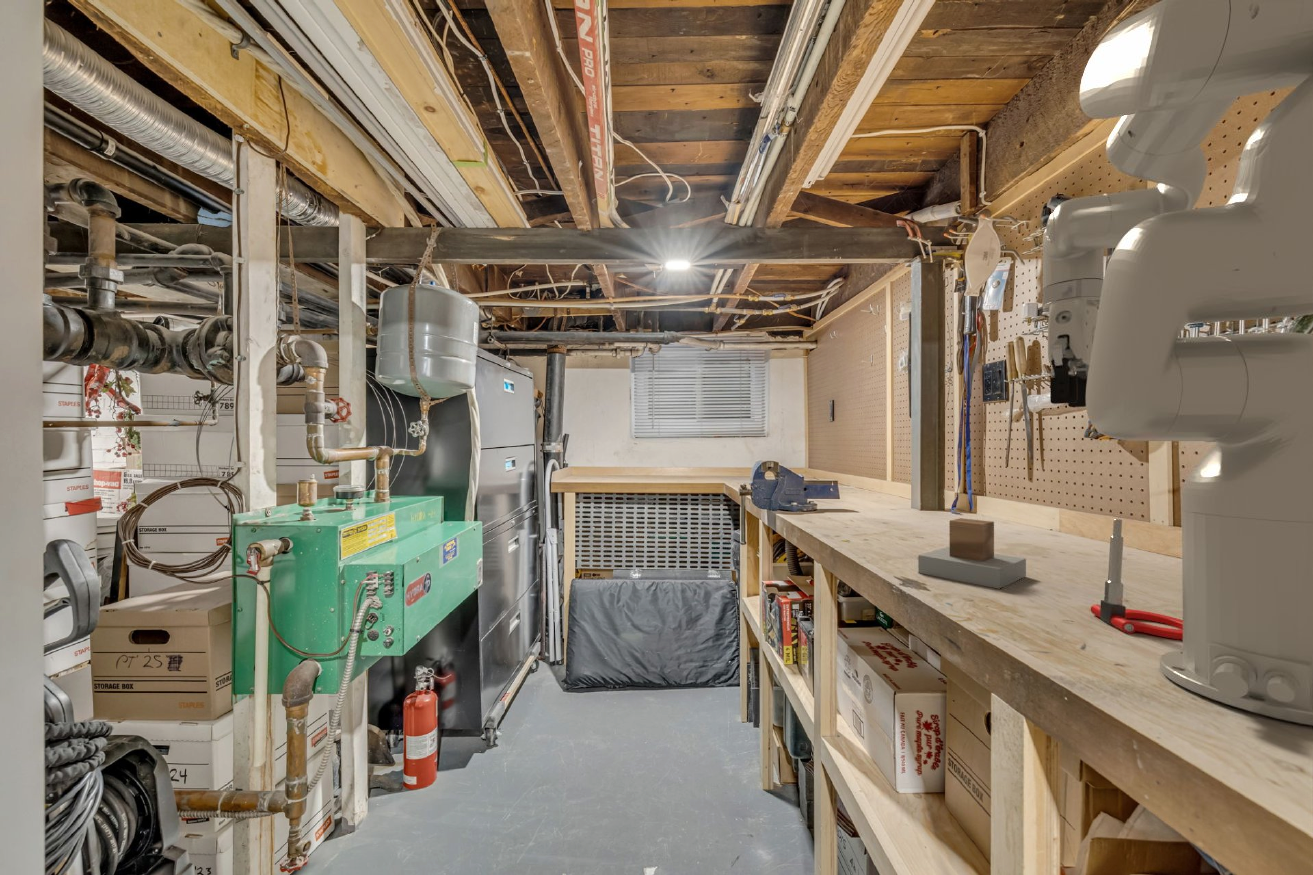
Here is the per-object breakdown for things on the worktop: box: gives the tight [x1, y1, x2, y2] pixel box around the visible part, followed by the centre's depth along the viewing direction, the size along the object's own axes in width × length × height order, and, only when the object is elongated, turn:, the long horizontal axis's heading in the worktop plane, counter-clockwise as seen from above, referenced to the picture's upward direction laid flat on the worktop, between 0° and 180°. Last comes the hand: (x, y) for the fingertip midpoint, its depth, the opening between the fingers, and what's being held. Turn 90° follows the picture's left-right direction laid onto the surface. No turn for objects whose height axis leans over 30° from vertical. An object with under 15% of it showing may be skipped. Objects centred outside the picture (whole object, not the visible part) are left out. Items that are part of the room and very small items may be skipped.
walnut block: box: [949, 517, 995, 562], centre depth 85 cm, size 5×5×6 cm
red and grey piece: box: [1090, 518, 1183, 641], centre depth 61 cm, size 8×13×9 cm
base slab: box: [917, 546, 1027, 589], centre depth 85 cm, size 12×12×3 cm
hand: (1072, 404), depth 81 cm, fingers open, 9 cm apart
